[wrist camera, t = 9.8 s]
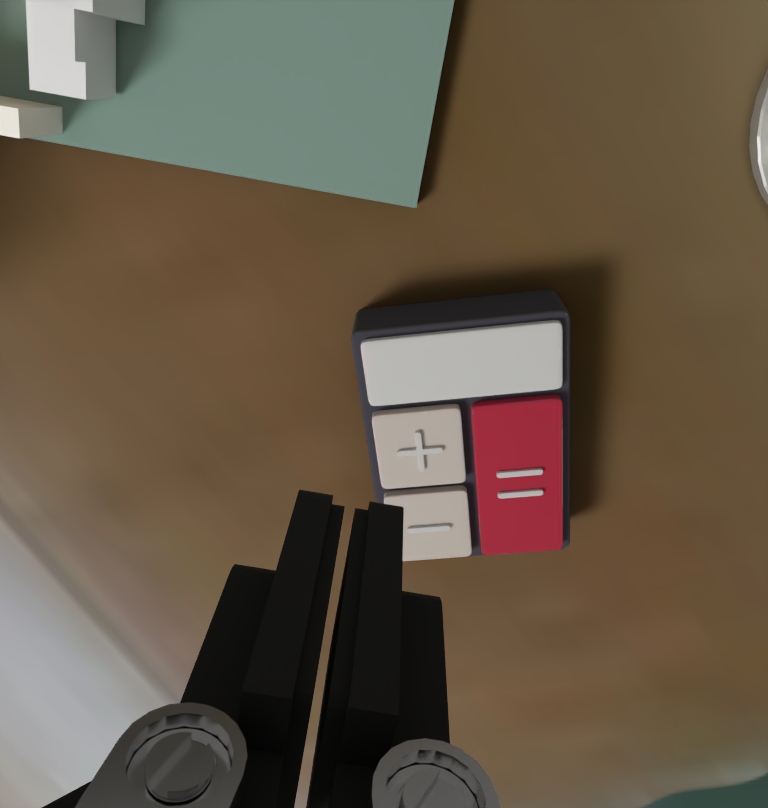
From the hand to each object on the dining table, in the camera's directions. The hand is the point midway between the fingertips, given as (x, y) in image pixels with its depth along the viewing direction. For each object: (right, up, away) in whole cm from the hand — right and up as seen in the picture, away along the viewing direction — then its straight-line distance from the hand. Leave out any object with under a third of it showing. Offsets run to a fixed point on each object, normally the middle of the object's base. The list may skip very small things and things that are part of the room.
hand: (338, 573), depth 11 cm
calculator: (+5, +2, +29) cm, 30 cm away
